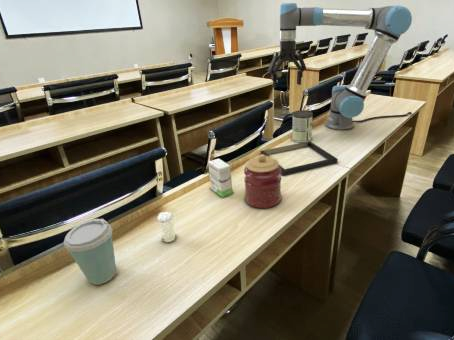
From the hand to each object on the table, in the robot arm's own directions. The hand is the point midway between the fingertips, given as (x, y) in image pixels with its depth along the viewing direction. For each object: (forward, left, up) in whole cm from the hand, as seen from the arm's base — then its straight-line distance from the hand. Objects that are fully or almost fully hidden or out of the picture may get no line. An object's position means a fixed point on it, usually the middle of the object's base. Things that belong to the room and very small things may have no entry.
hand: (287, 85), depth 155 cm
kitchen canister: (+37, +52, -27) cm, 69 cm away
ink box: (+49, +40, -27) cm, 69 cm away
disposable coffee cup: (+90, +67, -27) cm, 115 cm away
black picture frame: (+9, +28, -27) cm, 40 cm away
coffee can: (-5, +8, -27) cm, 28 cm away
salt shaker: (+72, +60, -27) cm, 98 cm away
